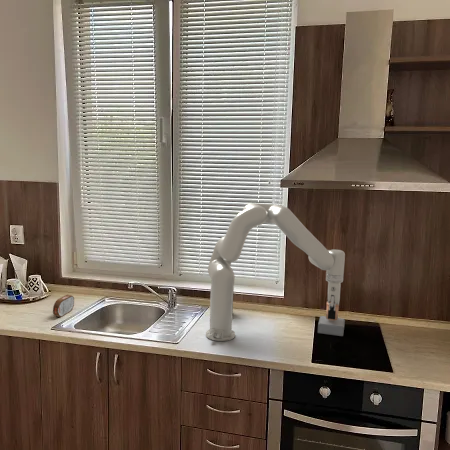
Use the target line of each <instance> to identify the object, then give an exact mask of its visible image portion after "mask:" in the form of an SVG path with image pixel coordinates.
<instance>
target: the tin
mask: <svg viewBox="0 0 450 450" xmlns="http://www.w3.org/2000/svg"><path fill="white" fill-rule="evenodd" d="M52 306H53V307H52V313H53V316H54V317H58V318H62V317H63V316H65V315H67V314H68V313H70V312H72V310H73V309H74V306H75V297H74V295H71V294H65V295H63V296H61V297H60V298H57V299H56V301H55V302H54V304H53V305H52Z"/></svg>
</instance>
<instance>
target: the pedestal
mask: <svg viewBox="0 0 450 450" xmlns="http://www.w3.org/2000/svg"><path fill="white" fill-rule="evenodd" d="M345 322H346V320H345V318H340V317H338V320H328V319H326V315H325V316H324V315H320V316H319V320H318V324H317V334H324V335H330V336H339V337H344V330H345Z"/></svg>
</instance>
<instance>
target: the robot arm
mask: <svg viewBox="0 0 450 450" xmlns="http://www.w3.org/2000/svg"><path fill="white" fill-rule="evenodd" d="M263 224H275V225H276V226H277V227H278V228H279V230H280V231H281V232H282V233H284V235H285V236H286V237H287V239H288V240H289V241H290V242H291V243H292V244H293V245H294V246H296V247H297V248H299V249H300V250H301V251H303V252H304V253H305V254H306V255H307V256H308V260H309V261H308V262H310V263H311V264H312V265H314V266H315V267H317V268H318V269H320V270H321V271H326V272H325V281H326V282H327V302H328V304H329V310H328V319H335V314H336V311H335V306H336V304H337V305H338V304H339V305H340V300H341V289H342V287H341V285H342V284H341V283H343V282H344V273H345V263H346V262H345V261H346V260H345V258H346V254H345V252H344V251H343V250H341V249H328V248H326V246H324V244H322V243H321V241H319V240H318V239H317V238H316V236H314V235H313V233H311V231H310V230H309V229H308V228H306V226H305V225H304V224H303V223H302V222H301V220H299V218H298V217H297V216H296V215H295V214H294V212H292V211H291V209H290V208H288V207H286V206H284V205H281V204H270V203H254V202H252V203H247V204H246V205H244V207H243V208H242V211H240V212H238V214H236V215H235V216H234V217H233V218H232V220H231V222H230V224H229V225H228V227H227V230H226V233H225V236H221V237H220V238H219V239H218V240H217V242H216V243H215V245H214V248H213V251H212V254H211V256H210V260H209V263H208V266H207V273H208V276H209V278H210V279H211V285H210V295H209V296H210V297H209V299H210V300H209V301H210V302H209V304H210V306H209V307H210V308H209V309H210V310H209V329H207V330H206V331H205V337H206V338H208V339H209V340H211V341H212V340H213V341H216V342H227V341H231V340H233V339H234V338H235V337H236V333H235V331H234V330H233V313H232V307H233V308H234V291H233V287H234V286H235V280H236V279H235V273H234V269H233V268H232V267H231V265H232V263H235V262H236V261H237V260H238V259H240V257H241V254H242V250H243V248H244V245H245V242H246V239H247V237H248V235H249V233H250V231H251V230H252V229H254V228H255V227H258V226H261V225H263ZM234 288H235V287H234ZM330 302H331V303H330ZM334 302H335V304H334ZM330 305H331V306H330Z"/></svg>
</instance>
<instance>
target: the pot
mask: <svg viewBox="0 0 450 450" xmlns="http://www.w3.org/2000/svg"><path fill="white" fill-rule="evenodd" d="M330 303H331V302H330ZM334 304H335V302H334ZM330 306H331V305H330ZM339 306H340V303H339V304H338V305H337V304H336V306H335V311H336V314H335V319H328V310H329V304H328V301H326V309H325V311H326V312H325V316H326V319H328V320H338V318H339V308H340V307H339Z"/></svg>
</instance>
